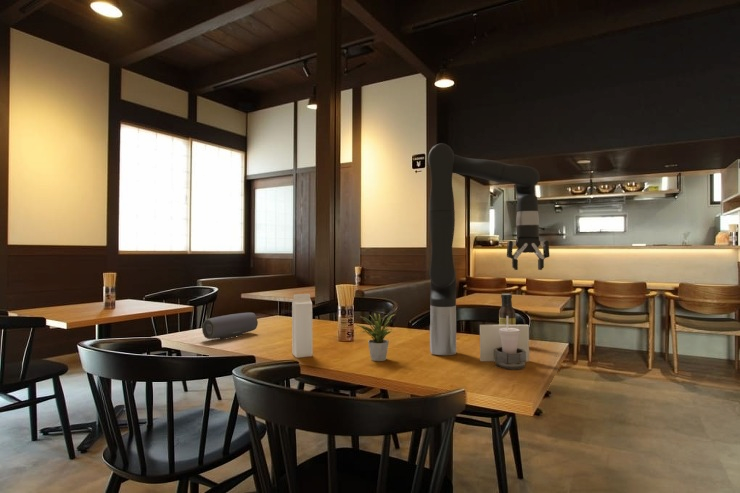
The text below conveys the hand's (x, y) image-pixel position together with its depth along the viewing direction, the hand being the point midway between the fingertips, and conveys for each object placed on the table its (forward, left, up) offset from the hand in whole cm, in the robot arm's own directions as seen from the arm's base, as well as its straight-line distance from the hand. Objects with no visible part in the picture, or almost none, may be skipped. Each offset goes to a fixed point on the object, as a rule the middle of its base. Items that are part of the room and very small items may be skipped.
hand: (528, 269), depth 150 cm
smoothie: (-11, -15, -28) cm, 34 cm away
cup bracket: (-11, -15, -30) cm, 35 cm away
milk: (-81, -2, -30) cm, 87 cm away
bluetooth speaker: (-119, +29, -30) cm, 126 cm away
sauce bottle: (-3, +16, -30) cm, 34 cm away
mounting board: (-11, -9, -30) cm, 33 cm away
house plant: (-53, -6, -30) cm, 61 cm away
